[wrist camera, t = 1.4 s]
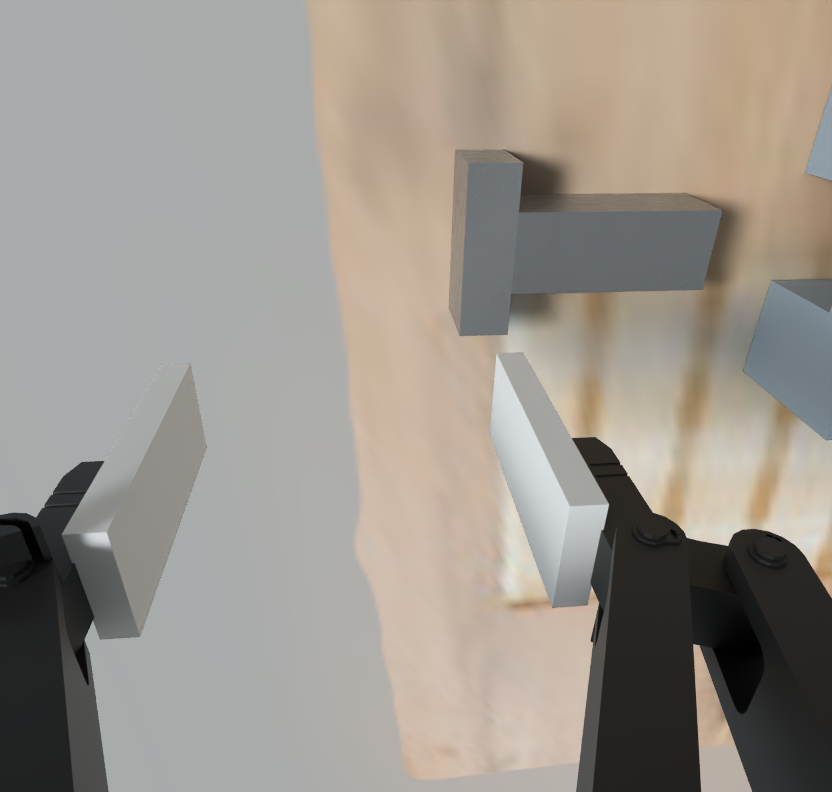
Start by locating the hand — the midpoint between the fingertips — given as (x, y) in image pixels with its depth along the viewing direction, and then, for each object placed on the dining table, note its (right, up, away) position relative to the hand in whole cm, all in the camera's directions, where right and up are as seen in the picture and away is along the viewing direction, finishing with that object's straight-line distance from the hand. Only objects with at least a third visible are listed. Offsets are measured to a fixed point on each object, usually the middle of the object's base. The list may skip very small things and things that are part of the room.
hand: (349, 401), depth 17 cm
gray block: (+10, +9, +16) cm, 21 cm away
